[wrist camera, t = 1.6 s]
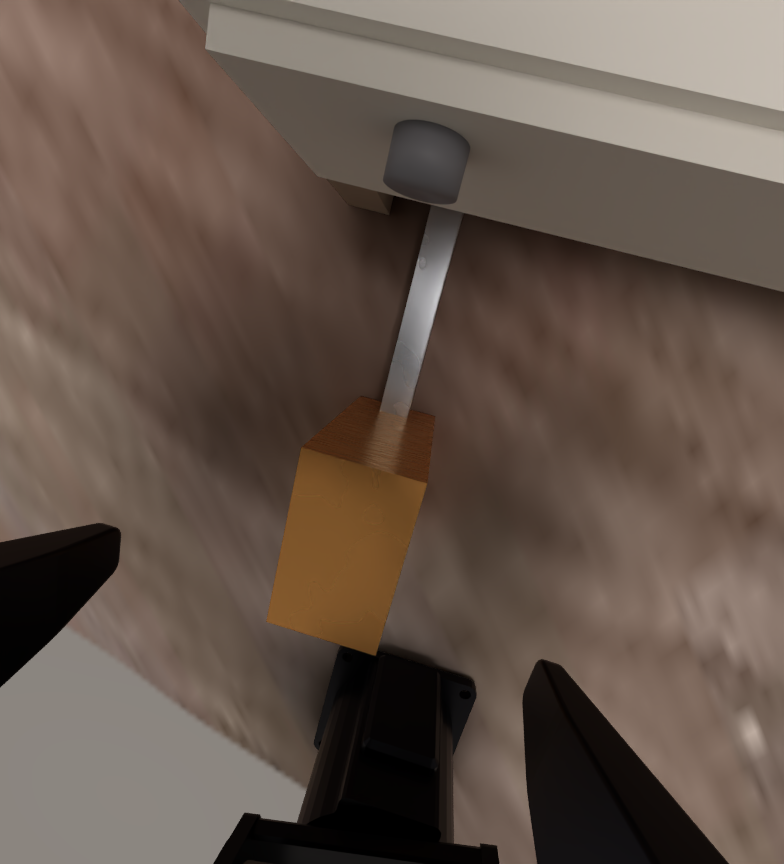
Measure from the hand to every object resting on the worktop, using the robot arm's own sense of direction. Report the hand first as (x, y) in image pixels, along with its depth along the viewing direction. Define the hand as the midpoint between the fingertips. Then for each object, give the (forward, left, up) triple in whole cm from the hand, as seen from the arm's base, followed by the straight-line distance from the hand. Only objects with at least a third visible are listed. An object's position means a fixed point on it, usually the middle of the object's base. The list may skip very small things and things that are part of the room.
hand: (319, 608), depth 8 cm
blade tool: (+8, 0, -9) cm, 12 cm away
